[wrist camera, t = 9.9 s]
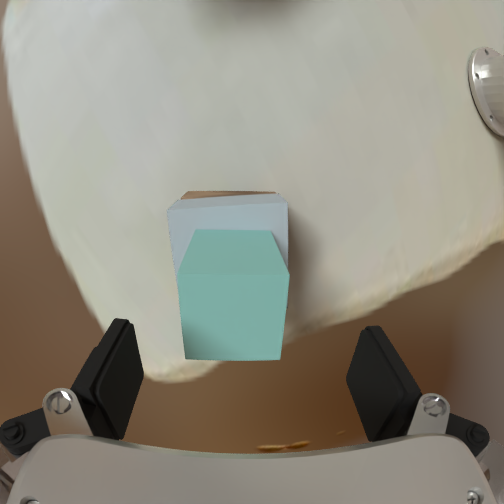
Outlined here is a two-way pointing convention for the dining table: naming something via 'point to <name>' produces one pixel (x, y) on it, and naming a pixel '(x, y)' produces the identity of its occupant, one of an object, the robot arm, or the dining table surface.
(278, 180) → the dining table surface
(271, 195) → the tower top
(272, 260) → the block
